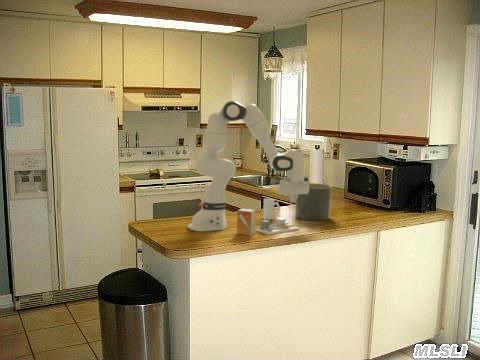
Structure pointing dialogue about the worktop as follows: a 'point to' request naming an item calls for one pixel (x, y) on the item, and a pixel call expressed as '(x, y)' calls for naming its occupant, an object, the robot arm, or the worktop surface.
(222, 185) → the robot arm
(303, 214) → the planter
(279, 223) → the sliding leg
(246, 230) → the small box
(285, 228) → the gauge board
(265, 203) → the mug
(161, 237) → the worktop surface
